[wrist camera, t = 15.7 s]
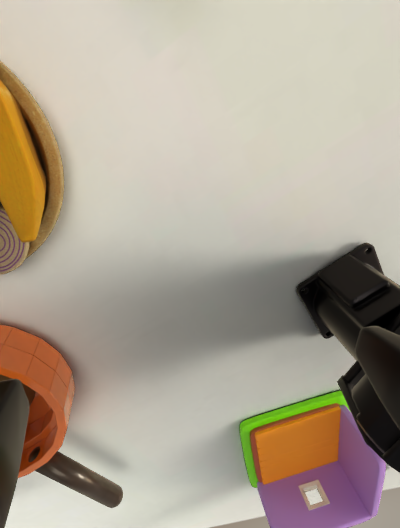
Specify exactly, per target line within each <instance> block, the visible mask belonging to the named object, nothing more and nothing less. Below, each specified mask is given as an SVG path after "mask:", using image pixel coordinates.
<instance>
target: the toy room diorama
mask: <svg viewBox="0 0 400 528" xmlns="http://www.w3.org/2000/svg"><path fill="white" fill-rule="evenodd" d="M239 429H240V437H241V443H242V448H243V454H244V459H245V464H246V468H247V473H248V477H249V481H250V483H251V485H252V487H254V488H257V489H258V492H259V495H260V498H261V501H262V504H263V507H264V510H265V513H266V516H267V519H268V522H269V525H270V528H349V527H352V526H354V525H357V524H360V523H363V522H365V521H367V520H370V519H371V518H372V517H374V516H376V515H377V512H378V508H379V503H380V498H381V493H382V488H383V483H384V477H385V471H386V464H385V461H384V460H383V459H382V458H381V457H380V456H379V455H378V454H377V453H376V452H375V451H374V450H373V449H372V448H371V447H369V446H368V445H367V444H366V443H365V441H364V439H363V437H362V434H361V433H360V431H359V429H358V427H357V424H356V422H355V420H354V418H353V416H352V413H351V411H350V409H349V407H348V405H347V402H346V400H345V398H344V396H343V393H342V391H341V390H340V391H336V392H333V393H329V394H326V395H323V396H319V397H316V398H313V399H309V400H306V401H303V402H300V403H296V404H293V405H290V406H287V407H283V408H280V409H277V410H274V411H271V412H268V413H264V414H261V415H258V416H255V417H252V418H249V419H247V420H245V421H243V422H242V423H241V424H240V427H239ZM316 488H317V490H318V492H319V494H320V496H321V498H322V500H323V501H322V502H319V503H316V504H313V505H310V503H309V501H308V499H307V496H306V494H305V492H307V491H310V490H313V489H316Z"/></svg>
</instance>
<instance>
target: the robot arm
mask: <svg viewBox="0 0 400 528" xmlns="http://www.w3.org/2000/svg"><path fill="white" fill-rule="evenodd" d="M367 248H368V249H367ZM366 249H367V250H366ZM365 250H366V251H365ZM304 288H305V290H304V291H302V290H303V289H304ZM296 291H297V293H298V295H299V297H300V298H301V300H302V302H303V304H304V305H305V307H306V309H307V311H308V312H309V314H310V316H311V318H312V319H313V321H314V323H315V325H316V326H317V328H318V330H319V332H320V333H321V335H322V336H323V337H324V338H330V337H332V336H333V335H334V336H335V337H336V338H337V339H338V340H339V341H340V342H341V343H342V345H343V346H344V347H345V348H346V349H347V350H348V351H349V353H350V354H351V355H352V356H353V357H354V358H355V359H356V362H355V364H354V365H353V366H352V367H351V368H350V369H349V371H348V372H347V373H346V374H345V375H344V376H342V377H341V378H340V379H339V380H338V381H337V382H338V385H339V387H340V389H341V391H342V393H343V396H344V398H345V400H346V402H347V405H348V407H349V409H350V411H351V413H352V416H353V418H354V420H355V422H356V424H357V427H358V429H359V431H360V433H361V434H362V437H363V439H364V441H365V443H366V444H367V445H368V446H369V447H371V448H372V449H373V450H374V451H375V452H376V453H377V454H378V455H379V456H380V457H381V458H382V459H383V460H384V461H385V462H386V463H387V464H389V465H390V466H391V467H392V468H394V469H395V470H397V471H398V472H400V286H399V285H398V284H396V283H395V282H393V281H392V280H390V279H389V278H387V277H386V276H384V274H383V271H382V268H381V266H380V263H379V260H378V257H377V254H376V252H375V249H374V247H373V246H372V245H371V244H369V243H364V244H362V245H361V246H359V247H357V248H356V249H354V250H353V251H351V252H350V253H348V254H346V255H345V256H343V257H342V258H340V259H339V260H337V261H335V262H334V263H332V264H331V265H329V266H327V267H326V268H324V269H323V270H321V271H320V272H318V273H316V274H315V275H313V276H312V277H310V278H309V279H307V280H305V281H304V282H302V283H301V284H299V285H298V286H297V289H296ZM28 417H29V401H28V398H27V396H26V393H25V391H24V388H23V385H22V383H21V381H20V380H19V379H11V380H4V381H0V528H4V527H5V524H6V520H7V516H8V513H9V509H10V506H11V502H12V499H13V495H14V491H15V487H16V483H17V479H18V474H19V469H20V463H21V457H22V452H23V446H24V440H25V434H26V428H27V422H28Z"/></svg>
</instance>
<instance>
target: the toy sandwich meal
mask: <svg viewBox="0 0 400 528" xmlns="http://www.w3.org/2000/svg"><path fill="white" fill-rule="evenodd" d="M63 193H64V174H63V166H62V161H61V156H60V152H59V149H58V145H57V142H56V139H55V137H54V135H53V132H52V130H51V127H50V125H49V123H48V121H47V119H46V117H45V116H44V114H43V112H42V110H41V109H40V107H39V106H38V104H37V102H36V101H35V100H34V98H33V97H32V95H31V94H30V93H29V91H28V90H27V89H26V88H25V86H24V85H23V84H22V83H21V82H20V80H19V79H18V78H17V77H16V76H15V75H14V74H13V73H12V72H11V71H10V70H9V69H8V68H7V67H6V66H5V65H4V64H3V63H2V62H1V61H0V274H5V273H8V272H10V271H13V270H14V269H16V268H18V267H19V266H20V265H21V264H22V263H23V262H24V260H25V259H26V258H27V257H29V256H30V255H31V254H32V253H34V252H35V251H36V250H37V249H38V248H39V247H40V246H41V245H42V244H43V242H44V241H45V240H46V238H47V237H48V236H49V234H50V233H51V231H52V230H53V228H54V225H55V223H56V221H57V219H58V216H59V213H60V210H61V205H62V200H63Z"/></svg>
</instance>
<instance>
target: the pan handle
mask: <svg viewBox="0 0 400 528" xmlns="http://www.w3.org/2000/svg"><path fill="white" fill-rule="evenodd" d="M39 452H40V447H39V446H38V447H36V448H34V449H33V450H32V452H31V453H30V455H29V458H28V461H29V462H32V461H34V460H35V459H36V457H37V456H38V454H39ZM35 471H37V472H39V473H41V474H43V475H45V476H47V477H49V478H51V479H53V480H55V481H57V482H59V483H61V484H63V485H65V486H67V487H69V488H71V489H73V490H75V491H77V492H79V493H81V494H83V495H85V496H87V497H89V498H91V499H93V500H95V501H97V502H99V503H101V504H103V505H105V506H107V507H110V508H114V507H116V506H118V505H119V504H120V502H121V501H122V498H123V491H122V488H121V487H120V486H119V485H117V484H115V483H113V482H112V481H110V480H108V479H106V478H104V477H103V476H101V475H99V474H97V473H96V472H94V471H92V470H90V469H88V468H87V467H85V466H83V465H81V464H79V463H78V462H76V461H74V460H72V459H71V458H69V457H67V456H65V455H63V454H62V453H60V452H58V451H57V452H56V453H55V454H54V455H53V457H52V458H51V459H50V460H49V461H48V462H47V463H46V464H44V465H42V466H41V467H39V468H37V469H36V470H35Z"/></svg>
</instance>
